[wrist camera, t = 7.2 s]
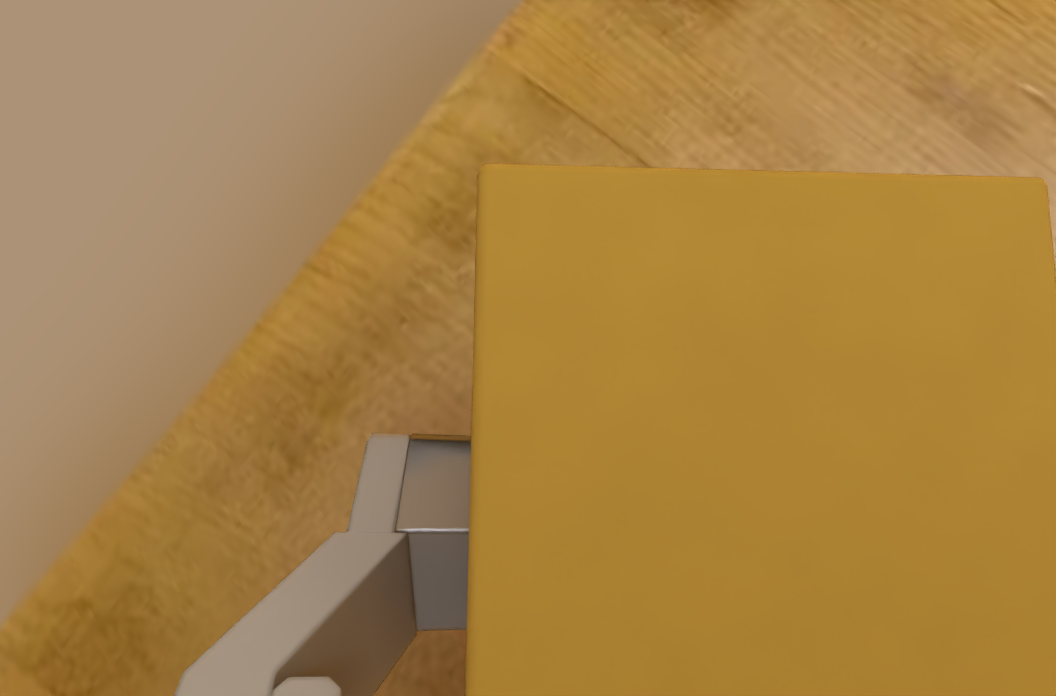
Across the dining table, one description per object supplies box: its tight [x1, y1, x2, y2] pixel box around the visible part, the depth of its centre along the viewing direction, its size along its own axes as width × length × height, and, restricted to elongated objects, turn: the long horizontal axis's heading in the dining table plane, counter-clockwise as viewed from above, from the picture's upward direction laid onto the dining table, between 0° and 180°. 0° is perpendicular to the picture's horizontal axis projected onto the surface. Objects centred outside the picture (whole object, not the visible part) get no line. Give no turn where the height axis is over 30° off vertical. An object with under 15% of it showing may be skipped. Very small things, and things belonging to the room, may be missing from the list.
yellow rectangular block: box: [465, 164, 1056, 696], centre depth 10 cm, size 4×6×10 cm
